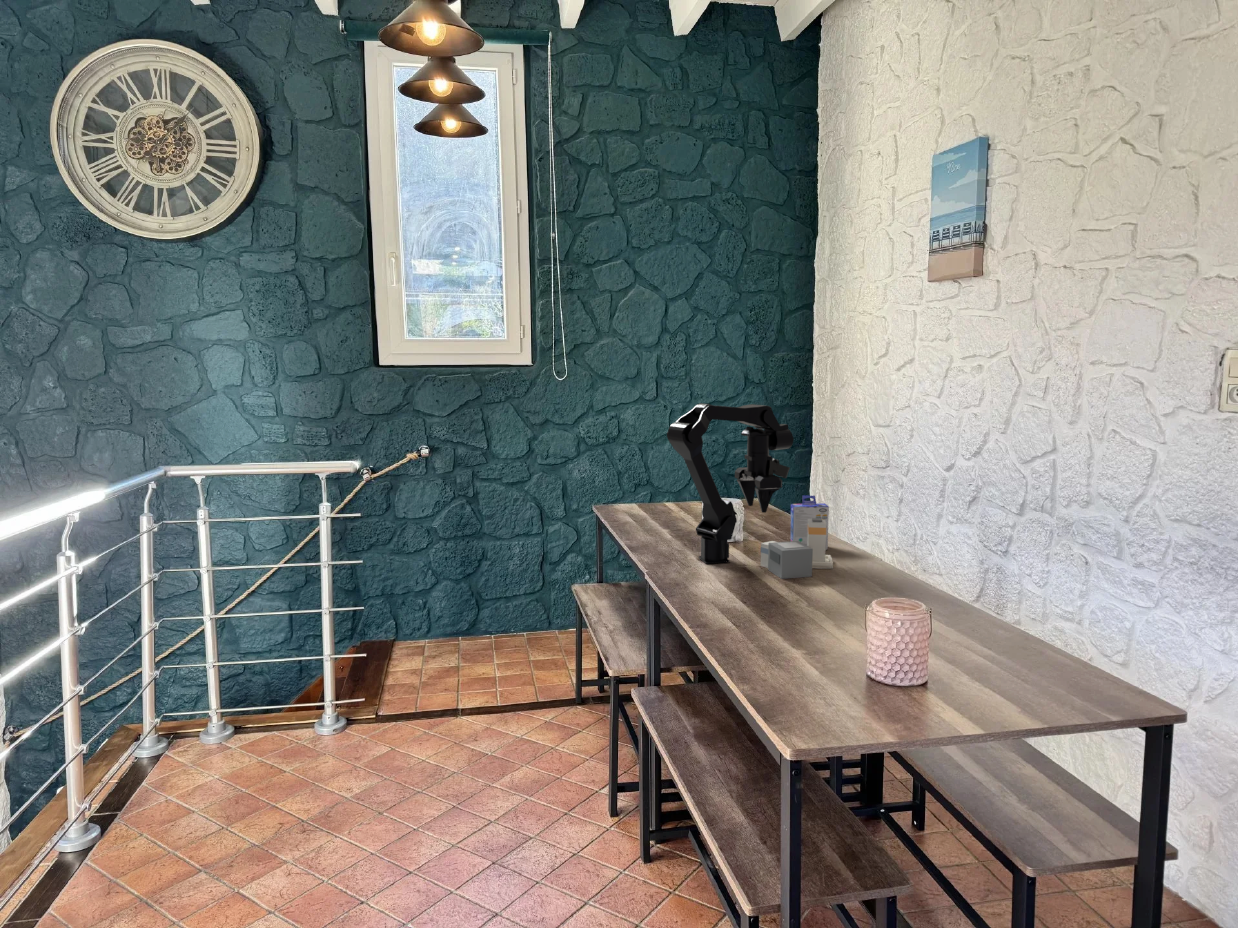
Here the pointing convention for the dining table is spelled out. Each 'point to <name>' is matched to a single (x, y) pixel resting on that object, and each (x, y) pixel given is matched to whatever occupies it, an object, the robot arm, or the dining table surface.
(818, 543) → the block
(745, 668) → the dining table surface
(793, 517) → the ink cartridge box
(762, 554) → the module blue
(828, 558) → the tray
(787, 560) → the block
